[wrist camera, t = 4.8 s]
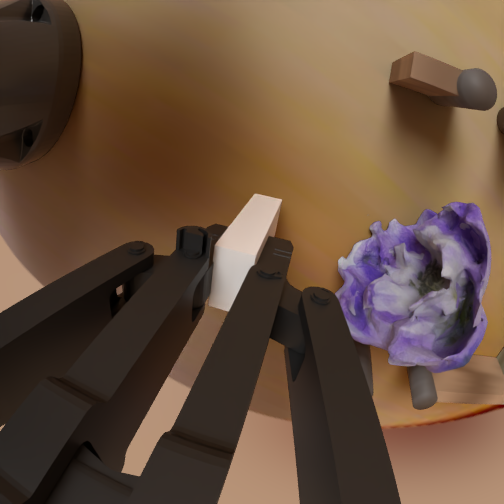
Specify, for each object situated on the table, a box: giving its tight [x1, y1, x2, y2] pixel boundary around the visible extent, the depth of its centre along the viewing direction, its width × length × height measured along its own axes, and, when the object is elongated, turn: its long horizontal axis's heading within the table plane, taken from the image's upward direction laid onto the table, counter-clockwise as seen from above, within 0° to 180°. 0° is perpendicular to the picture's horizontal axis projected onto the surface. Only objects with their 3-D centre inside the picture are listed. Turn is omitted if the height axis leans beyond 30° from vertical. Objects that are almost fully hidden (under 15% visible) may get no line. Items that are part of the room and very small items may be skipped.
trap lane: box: [353, 51, 504, 410], centre depth 14 cm, size 18×20×5 cm
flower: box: [335, 202, 491, 373], centre depth 15 cm, size 9×9×10 cm
